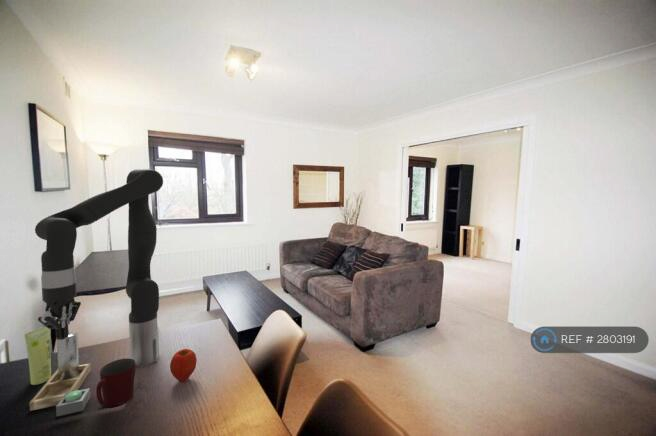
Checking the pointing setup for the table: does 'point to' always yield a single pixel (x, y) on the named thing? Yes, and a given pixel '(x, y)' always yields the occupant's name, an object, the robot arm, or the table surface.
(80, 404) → the grey square dish
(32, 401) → the wooden compartment tray
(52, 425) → the table surface
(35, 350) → the tube
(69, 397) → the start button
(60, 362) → the seated billet
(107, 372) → the mug
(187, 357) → the apple
